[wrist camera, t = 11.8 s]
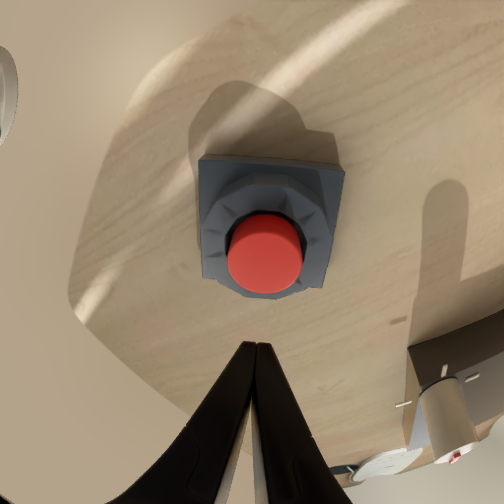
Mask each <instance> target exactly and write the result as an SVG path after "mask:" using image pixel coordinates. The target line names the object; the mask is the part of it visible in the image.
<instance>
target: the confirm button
mask: <svg viewBox="0 0 504 504" xmlns="http://www.w3.org/2000/svg"><path fill="white" fill-rule="evenodd" d="M227 266H228V270H229V272H230V274H231V276H232V278H233V279H234V280H235V281H236V282H237V283H238V284H239V285H240V286H242V287H243V288H245V289H247V290H249V291H252V292H256V293H261V294H269V293H276V292H279V291H282V290H284V289H286V288H288V287H289V286H291V285H292V284H293V283H294V282H295V281H296V279H297V278H298V276H299V275H300V272H301V269H302V253H301V245H300V239H299V235H298V233H297V231H296V229H295V228H294V227H293V225H292V224H291V223H290V222H288V221H287V220H285V219H284V218H282V217H279V216H276V215H272V214H259V215H254V216H251V217H249V218H247V219H245V220H244V221H243V222H241V223H240V224H239V225H238V227H237V228H236V230H235V231H234V234H233V237H232V241H231V244H230V248H229V252H228V256H227Z"/></svg>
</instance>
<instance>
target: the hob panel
mask: <svg viewBox="0 0 504 504" xmlns="http://www.w3.org/2000/svg"><path fill="white" fill-rule="evenodd" d="M449 378H455V379H457V380H458V381H459V384H460V386H461V389H462V392H463V394H464V397H465V400H466V403H467V406H468V409H469V412H470V415H471V418H472V421H473V424H474V426H477V425H479V424H481V423H483V422H485V421H487V420H489V419H491V418H493V417H495V416H497V415H499V414H501V413H503V412H504V310H502V311H500V312H498V313H496V314H493V315H491V316H489V317H487V318H485V319H482V320H480V321H478V322H475V323H473V324H471V325H468V326H466V327H463V328H461V329H458V330H456V331H453V332H451V333H448V334H446V335H443V336H440V337H438V338H435V339H432V340H429V341H426V342H424V343H421V344H418V345H415V346H412V347H409V348H407V376H406V392H405V402H401V403H398V404H395V408H396V407H399V406H402V405H404V415H403V424H402V427H403V432H404V437H405V442H406V448H407V452H408V451H411V450H415V449H418V448H421V447H424V446H427V445H430V444H431V443H430V439H429V435H428V430H427V426H426V422H425V418H424V415H423V411H422V407H421V403H420V396H421V394H422V393H423V392H424V391H425V390H426V389H428V388H429V387H430V386H432V385H434V384H435V383H437V382H440V381H442V380H445V379H449Z"/></svg>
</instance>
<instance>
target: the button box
mask: <svg viewBox="0 0 504 504" xmlns="http://www.w3.org/2000/svg"><path fill="white" fill-rule="evenodd" d="M198 172H199V215H200V241H201V262H202V278H203V279H213V280H217V281H218V282H219V283H221V284H223V285H224V286H226V287H228V288H230V289H232V290H234V291H235V292H237V293H239V294H241V295H243V296H246V297H251V298H263V299H275V300H276V299H280V298H282V297H285V296H288V295H291V294H294V293H297V292H300V291H303V290H305V289H307V288H308V287H311V288H322V286H323V282H324V278H325V273H326V269H327V267H328V263H329V258H330V253H331V249H332V244H333V236H334V231H335V226H336V221H337V216H338V211H339V205H340V200H341V194H342V188H343V182H344V176H345V171H344V170H343V168H342V167H341V166H340V165H334V164H326V163H318V162H309V161H300V160H289V159H278V158H266V157H251V156H234V155H209V154H204V155H203V156H202V157H201V158H200V159H199V160H198ZM259 214H272V215H276V216H279V217H282V218H284V219H285V220H287V221H288V222H290V223H291V224H292V225H293V227H294V228H295V229H296V231H297V233H298V235H299V239H300V245H301V253H302V269H301V272H300V275H299V276H298V278H297V279H296V281H295V282H294V283H293V284H292V285H291V286H289V287H288V288H286V289H284V290H282V291H279V292H276V293H269V294H261V293H256V292H252V291H249V290H247V289H245V288H243V287H242V286H240V285H239V284H238V283H237V282H236V281H235V280H234V279H233V278H232V276H231V274H230V272H229V270H228V266H227V256H228V252H229V248H230V244H231V241H232V237H233V234H234V231H235V230H236V228H237V227H238V225H239V224H240V223H241V222H243V221H244V220H245V219H247V218H249V217H251V216H254V215H259Z"/></svg>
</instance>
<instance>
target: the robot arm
mask: <svg viewBox="0 0 504 504" xmlns="http://www.w3.org/2000/svg"><path fill="white" fill-rule="evenodd" d="M0 136H1V130H0ZM256 345H257V347H256ZM251 398H252V400H251ZM250 407H251V425H252V447H253V468H254V488H255V504H353V503H352V502H351V500H350V499H349V498H348V496H347V495H346V493H345V492H344V490H343V489H342V487H341V486H340V484H339V483H338V481H337V480H336V478H335V477H334V475H333V474H332V472H331V471H330V469H329V467H328V466H327V464H326V462H325V460H324V458H323V457H322V455H321V453H320V451H319V449H318V447H317V444H316V442H315V440H314V438H313V437H311V436H312V434H311V432H310V430H309V427H308V425H307V423H306V421H305V419H304V416H303V414H302V412H301V410H300V408H299V405H298V403H297V401H296V399H295V397H294V394H293V392H292V390H291V388H290V385H289V383H288V381H287V379H286V376H285V374H284V372H283V370H282V367H281V365H280V363H279V361H278V358H277V356H276V354H275V352H274V349H273V347H272V345H271V344H270V343H262V342H259V343H257V344H256V342H250V341H243V342H242V343H241V345H240V346H239V348H238V349H237V351H236V352H235V354H234V355H233V357H232V358H231V360H230V361H229V363H228V364H227V366H226V367H225V369H224V370H223V372H222V373H221V375H220V376H219V378H218V379H217V381H216V382H215V383H214V385H213V386H212V388H211V389H210V391H209V392H208V394H207V395H206V397H205V398H204V400H203V401H202V402H201V404H200V405H199V407H198V408H197V410H196V411H195V412H194V414H193V415H192V417H191V418H190V420H189V421H188V422H187V424H186V426H187V427H186V426H185V427H184V428H183V429H182V431H181V432H180V433H179V435H178V436H177V437H176V439H175V440H174V441H173V443H172V444H171V445H170V446H169V448H168V449H167V450H166V451H165V452H164V454H162V456H161V457H160V458H159V459H158V460H157V461H156V462H155V463H154V464H153V465H152V466H151V467H150V468H149V469H148V470H147V471H146V472H145V473H144V474H143V475H142V476H141V477H140V478H139V479H138V480H137V481H136V482H135V483H134V484H133V485H131V486H130V487H129V488H128V489H127V490H126V491H125V492H123V493H122V494H121V495H119V496H118V497H116V498H115V499H113V500H111V501H110V502H107V503H106V504H226V502H227V499H228V495H229V491H230V487H231V484H232V480H233V476H234V472H235V469H236V465H237V461H238V457H239V453H240V449H241V445H242V441H243V437H244V433H245V429H246V425H247V421H248V417H249V412H250ZM0 504H14V503H12V502H11V501H9V500H8V499H7V498H5V497H4V496H3V495H1V494H0Z"/></svg>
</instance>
